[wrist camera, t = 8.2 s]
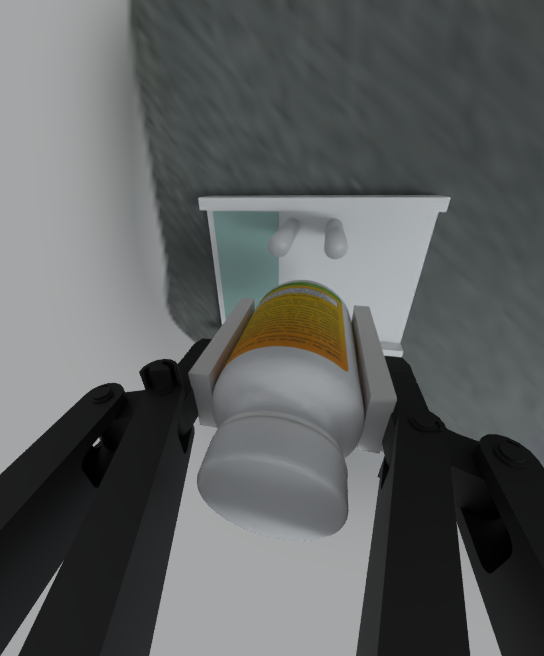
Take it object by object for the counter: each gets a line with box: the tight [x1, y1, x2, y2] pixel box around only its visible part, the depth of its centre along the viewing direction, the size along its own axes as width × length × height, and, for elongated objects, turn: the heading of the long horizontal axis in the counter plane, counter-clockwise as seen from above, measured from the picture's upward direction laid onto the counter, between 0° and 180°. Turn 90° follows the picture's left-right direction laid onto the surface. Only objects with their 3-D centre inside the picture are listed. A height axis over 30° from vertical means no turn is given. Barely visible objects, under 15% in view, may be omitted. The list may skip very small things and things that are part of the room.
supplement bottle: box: [197, 280, 364, 541], centre depth 11 cm, size 5×5×10 cm
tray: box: [198, 195, 451, 357], centre depth 18 cm, size 16×12×7 cm
